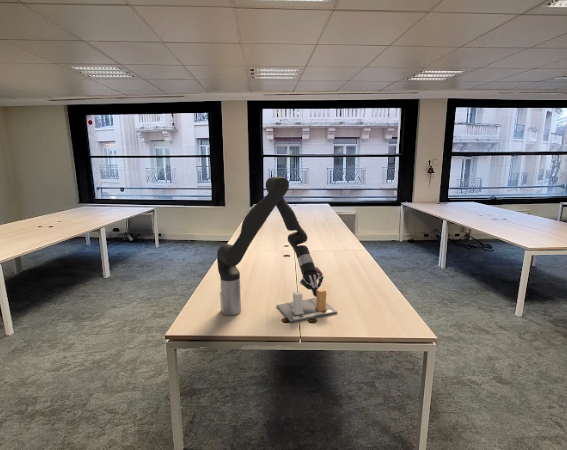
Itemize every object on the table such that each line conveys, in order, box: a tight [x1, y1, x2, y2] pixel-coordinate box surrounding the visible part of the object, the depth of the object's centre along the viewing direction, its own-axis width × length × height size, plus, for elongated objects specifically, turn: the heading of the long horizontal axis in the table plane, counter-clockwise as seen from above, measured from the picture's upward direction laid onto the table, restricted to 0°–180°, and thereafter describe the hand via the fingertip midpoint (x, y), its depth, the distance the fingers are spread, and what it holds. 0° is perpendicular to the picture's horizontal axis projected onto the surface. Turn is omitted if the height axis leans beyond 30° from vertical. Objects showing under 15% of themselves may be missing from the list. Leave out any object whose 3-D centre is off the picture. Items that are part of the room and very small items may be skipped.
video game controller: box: [315, 266, 323, 277], centre depth 205 cm, size 10×5×7 cm, turn 142°
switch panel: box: [276, 297, 338, 324], centre depth 160 cm, size 24×18×1 cm
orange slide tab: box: [315, 288, 327, 312], centre depth 157 cm, size 4×4×10 cm
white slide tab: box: [292, 291, 303, 315], centre depth 154 cm, size 4×4×10 cm
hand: (317, 296), depth 161 cm, fingers closed
